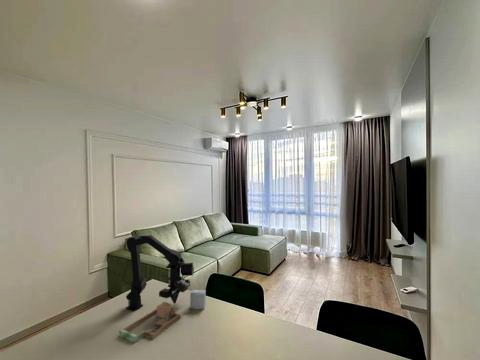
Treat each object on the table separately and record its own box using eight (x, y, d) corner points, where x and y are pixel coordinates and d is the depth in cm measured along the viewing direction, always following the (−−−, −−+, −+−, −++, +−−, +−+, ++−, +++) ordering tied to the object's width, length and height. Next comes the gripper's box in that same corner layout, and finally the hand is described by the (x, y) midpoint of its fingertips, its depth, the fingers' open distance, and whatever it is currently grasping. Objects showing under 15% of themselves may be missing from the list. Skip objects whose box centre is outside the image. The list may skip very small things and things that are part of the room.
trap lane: (119, 335, 103) (119, 330, 103) (160, 309, 125) (160, 304, 125) (143, 346, 96) (143, 340, 96) (182, 316, 118) (183, 311, 118)
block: (156, 315, 119) (156, 306, 119) (163, 311, 124) (163, 301, 124) (163, 318, 117) (164, 308, 117) (170, 313, 121) (170, 303, 122)
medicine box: (205, 305, 129) (206, 290, 130) (203, 309, 125) (204, 293, 125) (192, 304, 130) (192, 289, 131) (190, 308, 126) (190, 293, 126)
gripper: (174, 284, 116) (174, 315, 116) (196, 272, 133) (196, 299, 133) (158, 280, 121) (158, 310, 121) (181, 269, 138) (181, 295, 138)
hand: (174, 303), depth 128 cm, fingers closed
